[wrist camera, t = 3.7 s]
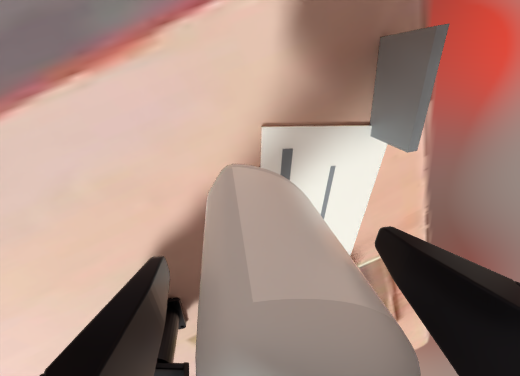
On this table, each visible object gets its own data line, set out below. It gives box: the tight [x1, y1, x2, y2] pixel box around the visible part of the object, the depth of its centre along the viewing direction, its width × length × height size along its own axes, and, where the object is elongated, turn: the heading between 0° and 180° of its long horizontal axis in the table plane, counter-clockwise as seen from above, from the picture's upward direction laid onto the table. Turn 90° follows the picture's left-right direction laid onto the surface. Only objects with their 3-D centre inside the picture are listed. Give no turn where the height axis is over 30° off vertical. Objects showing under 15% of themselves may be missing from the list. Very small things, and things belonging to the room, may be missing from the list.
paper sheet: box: [260, 125, 387, 255], centre depth 24 cm, size 18×13×1 cm
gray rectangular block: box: [370, 24, 449, 152], centre depth 17 cm, size 8×1×5 cm, turn 8°
